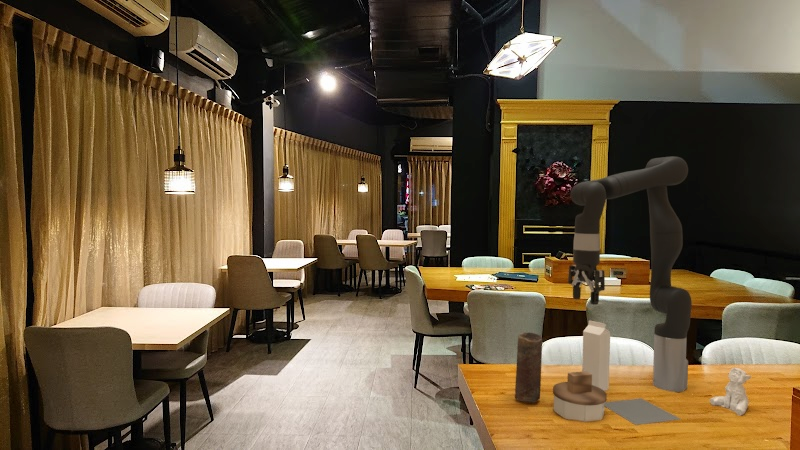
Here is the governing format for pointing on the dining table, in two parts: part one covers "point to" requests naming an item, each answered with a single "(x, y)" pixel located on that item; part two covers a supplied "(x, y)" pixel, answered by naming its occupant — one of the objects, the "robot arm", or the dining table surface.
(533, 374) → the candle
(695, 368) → the dining table surface
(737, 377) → the sitting furry creature
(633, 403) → the mat
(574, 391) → the lid
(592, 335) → the milk
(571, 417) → the bowl
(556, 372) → the dining table surface
